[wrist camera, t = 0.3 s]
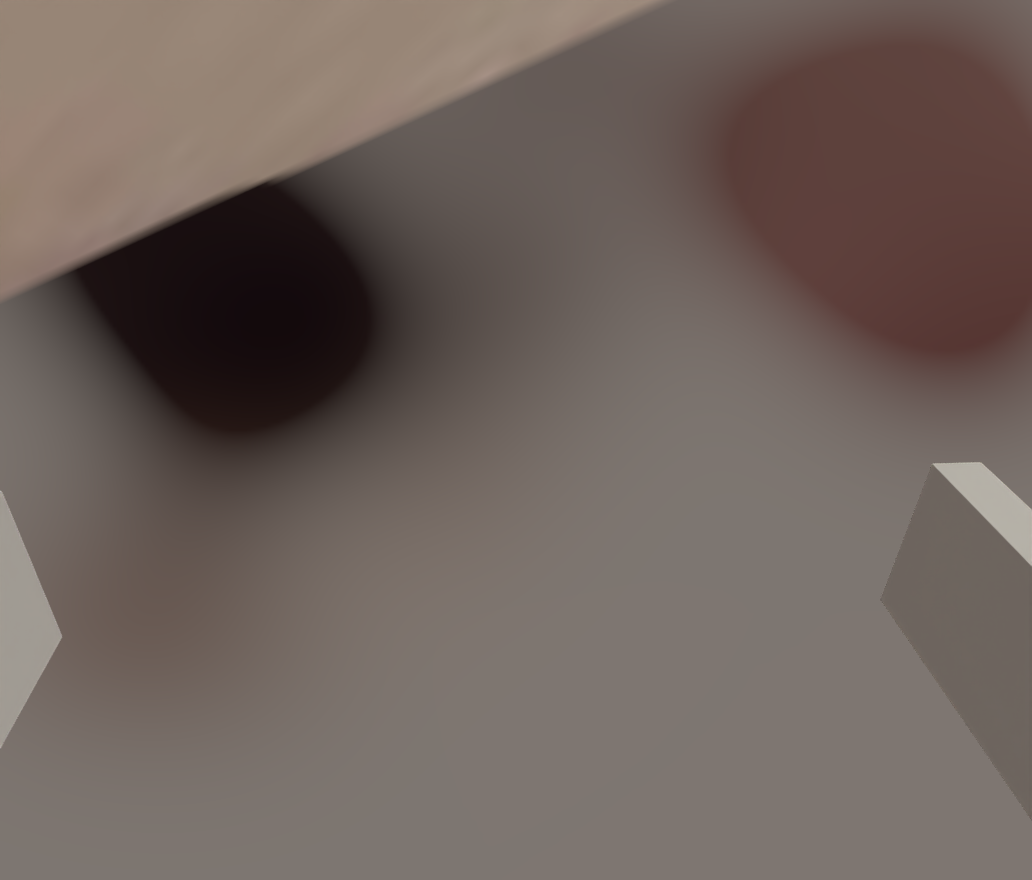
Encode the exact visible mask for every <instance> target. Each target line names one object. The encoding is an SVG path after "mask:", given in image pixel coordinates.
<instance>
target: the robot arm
mask: <svg viewBox="0 0 1032 880" xmlns="http://www.w3.org/2000/svg"><path fill="white" fill-rule="evenodd" d="M881 601H882V603H883V604H884V606H885V607H886V609H887V610H888V612H889V613H890V614H891V616H892V617H893V619H894V620H895V622H896V623H897V625H898V626H899V627H900V629H901V630H902V632H903V633H904V635H905V636H906V638H907V639H908V641H909V642H910V644H911V645H912V646H913V648H914V649H915V651H916V652H917V654H918V655H919V657H920V658H921V660H922V661H923V663H924V664H925V665H926V667H927V668H928V670H929V671H930V673H931V674H932V676H933V677H934V679H935V680H936V681H937V683H938V684H939V686H940V687H941V689H942V690H943V692H944V693H945V694H946V696H947V697H948V699H949V700H950V702H951V703H952V705H953V706H954V708H955V709H956V711H957V712H958V713H959V715H960V716H961V718H962V719H963V721H964V722H965V724H966V725H967V727H968V728H969V730H970V731H971V733H972V734H973V735H974V737H975V738H976V740H977V741H978V743H979V744H980V746H981V747H982V749H983V750H984V752H985V753H986V754H987V756H988V757H989V759H990V760H991V762H992V763H993V765H994V766H995V768H996V769H997V770H998V772H999V773H1000V775H1001V776H1002V778H1003V779H1004V781H1005V782H1006V784H1007V785H1008V787H1009V788H1010V789H1011V791H1012V792H1013V794H1014V795H1015V797H1016V798H1017V800H1018V801H1019V803H1020V804H1021V805H1022V807H1023V808H1024V810H1025V811H1026V813H1027V814H1028V816H1029V817H1030V819H1031V820H1032V510H1031V509H1030V508H1029V507H1028V506H1027V505H1026V504H1025V503H1024V502H1023V501H1022V500H1021V499H1020V498H1019V497H1017V496H1016V495H1015V494H1014V493H1013V492H1012V491H1011V490H1010V489H1009V488H1008V487H1007V486H1006V485H1005V484H1004V483H1002V482H1001V481H1000V480H999V479H998V478H997V477H996V476H995V475H994V474H993V473H992V472H991V471H990V470H988V469H987V468H986V467H985V466H984V465H983V464H982V463H981V462H972V463H939V464H932V466H931V468H930V471H929V474H928V476H927V479H926V481H925V484H924V487H923V489H922V492H921V494H920V497H919V500H918V502H917V505H916V508H915V510H914V513H913V515H912V518H911V521H910V524H909V526H908V529H907V531H906V534H905V537H904V539H903V542H902V544H901V547H900V550H899V552H898V555H897V558H896V560H895V563H894V565H893V568H892V571H891V573H890V576H889V578H888V581H887V584H886V586H885V589H884V592H883V594H882V597H881ZM61 638H62V635H61V632H60V630H59V628H58V625H57V623H56V620H55V618H54V616H53V613H52V611H51V608H50V606H49V603H48V601H47V599H46V596H45V594H44V591H43V589H42V586H41V584H40V582H39V579H38V577H37V574H36V572H35V570H34V567H33V565H32V562H31V560H30V558H29V555H28V553H27V550H26V548H25V546H24V543H23V541H22V538H21V536H20V534H19V531H18V529H17V526H16V524H15V521H14V519H13V517H12V514H11V512H10V509H9V507H8V505H7V502H6V500H5V497H4V495H3V493H2V491H0V749H1V747H2V745H3V743H4V741H5V740H6V738H7V736H8V734H9V732H10V730H11V729H12V727H13V725H14V723H15V721H16V720H17V718H18V716H19V714H20V712H21V711H22V709H23V707H24V705H25V703H26V701H27V700H28V698H29V696H30V694H31V692H32V691H33V689H34V687H35V685H36V683H37V682H38V679H39V678H40V676H41V674H42V673H43V671H44V669H45V667H46V665H47V663H48V662H49V660H50V658H51V656H52V654H53V653H54V651H55V649H56V647H57V645H58V644H59V642H60V640H61Z"/></svg>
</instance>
